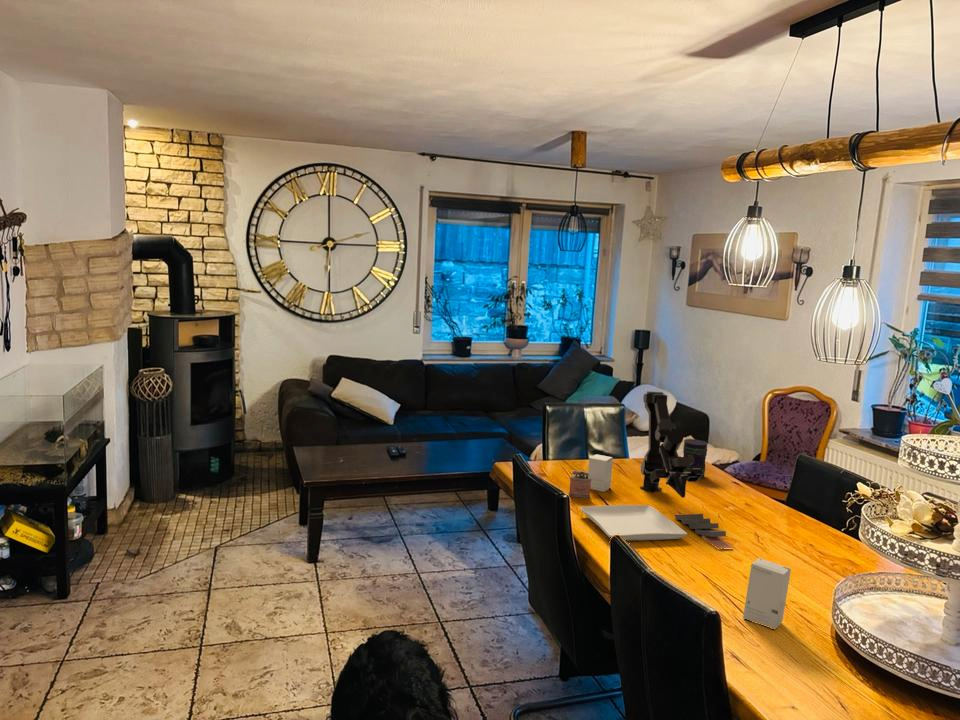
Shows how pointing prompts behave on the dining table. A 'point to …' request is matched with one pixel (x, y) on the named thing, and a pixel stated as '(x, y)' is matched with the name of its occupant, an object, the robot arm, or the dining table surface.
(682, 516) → the domino
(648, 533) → the square plate
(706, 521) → the domino
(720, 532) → the domino
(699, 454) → the storage jar
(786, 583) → the skincare box
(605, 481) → the supplement box
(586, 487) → the lighter
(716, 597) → the dining table surface
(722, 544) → the domino
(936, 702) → the dining table surface
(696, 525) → the domino
